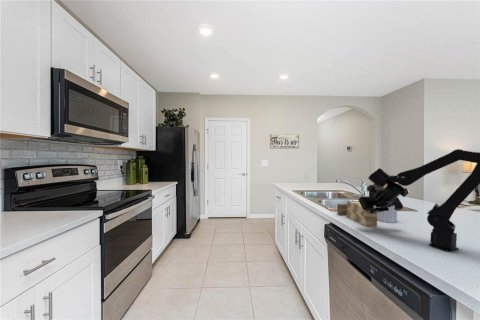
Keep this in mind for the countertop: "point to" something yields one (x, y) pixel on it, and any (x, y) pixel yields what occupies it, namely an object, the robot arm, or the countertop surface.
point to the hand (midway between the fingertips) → (371, 212)
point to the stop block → (342, 209)
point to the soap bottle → (388, 214)
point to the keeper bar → (360, 214)
